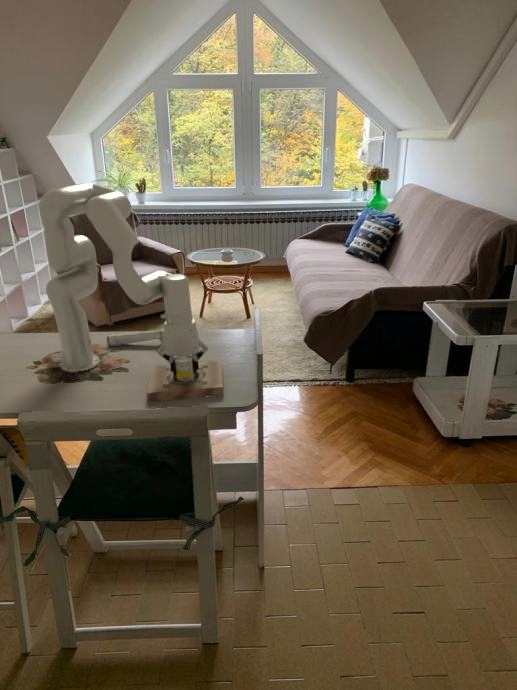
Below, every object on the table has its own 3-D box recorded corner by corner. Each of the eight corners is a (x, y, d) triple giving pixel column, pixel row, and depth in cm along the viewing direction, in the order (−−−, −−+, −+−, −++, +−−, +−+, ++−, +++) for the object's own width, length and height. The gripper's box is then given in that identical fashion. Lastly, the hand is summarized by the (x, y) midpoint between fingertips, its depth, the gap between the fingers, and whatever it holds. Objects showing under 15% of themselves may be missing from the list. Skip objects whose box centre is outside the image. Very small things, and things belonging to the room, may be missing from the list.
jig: (148, 402, 160) (146, 393, 159) (154, 374, 177) (153, 366, 175) (223, 396, 161) (222, 387, 160) (222, 369, 178) (221, 360, 176)
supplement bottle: (186, 374, 172) (183, 345, 168) (199, 379, 169) (196, 349, 164) (173, 381, 168) (169, 351, 164) (185, 386, 165) (182, 355, 161)
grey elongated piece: (109, 332, 202) (174, 322, 198) (114, 349, 204) (179, 339, 201) (105, 338, 197) (171, 328, 194) (110, 355, 199) (176, 345, 196)
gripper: (148, 323, 156) (155, 380, 163) (208, 319, 157) (213, 375, 164) (150, 314, 163) (158, 369, 170) (208, 310, 164) (213, 365, 171)
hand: (185, 371), depth 167 cm, fingers closed on supplement bottle, 5 cm apart
